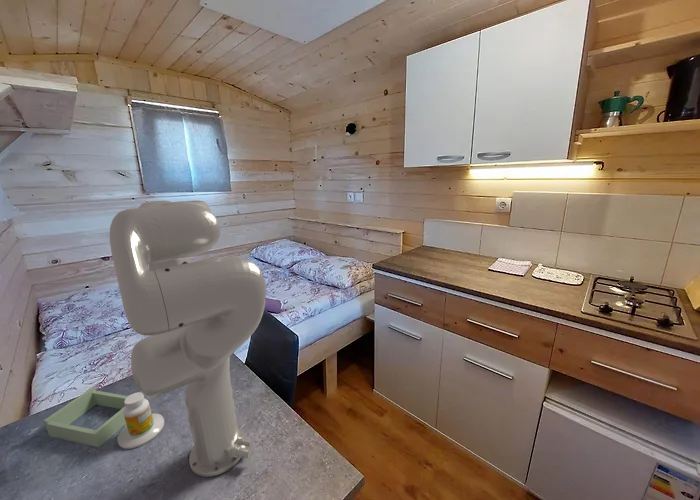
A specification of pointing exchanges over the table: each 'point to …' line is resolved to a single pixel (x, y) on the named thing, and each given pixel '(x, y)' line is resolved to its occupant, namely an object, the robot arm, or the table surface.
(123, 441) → the saucer
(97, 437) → the frame
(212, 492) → the table surface
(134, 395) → the supplement bottle
